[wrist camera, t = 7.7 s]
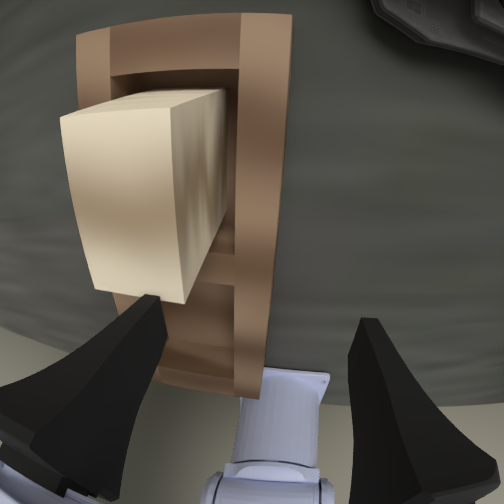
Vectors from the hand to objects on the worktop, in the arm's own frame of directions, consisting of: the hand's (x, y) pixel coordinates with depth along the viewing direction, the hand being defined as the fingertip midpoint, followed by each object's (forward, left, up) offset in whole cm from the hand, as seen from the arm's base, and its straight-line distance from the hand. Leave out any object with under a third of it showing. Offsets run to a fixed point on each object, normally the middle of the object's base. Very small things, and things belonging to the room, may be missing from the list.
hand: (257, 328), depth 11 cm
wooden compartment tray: (-2, +5, -10) cm, 11 cm away
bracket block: (+4, +5, -9) cm, 11 cm away
